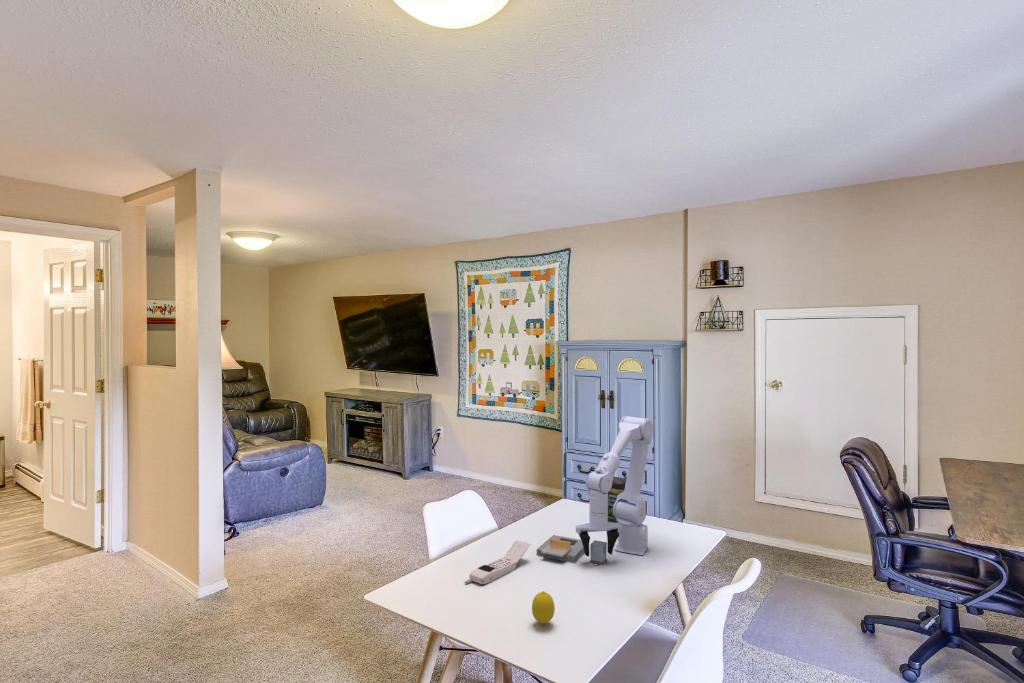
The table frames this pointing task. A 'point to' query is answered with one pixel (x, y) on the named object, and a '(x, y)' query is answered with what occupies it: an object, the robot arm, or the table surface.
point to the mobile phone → (499, 565)
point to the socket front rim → (568, 539)
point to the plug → (598, 552)
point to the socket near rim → (579, 546)
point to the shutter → (557, 548)
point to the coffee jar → (615, 496)
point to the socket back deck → (570, 556)
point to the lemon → (543, 607)
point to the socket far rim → (553, 538)
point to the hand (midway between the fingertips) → (598, 554)
